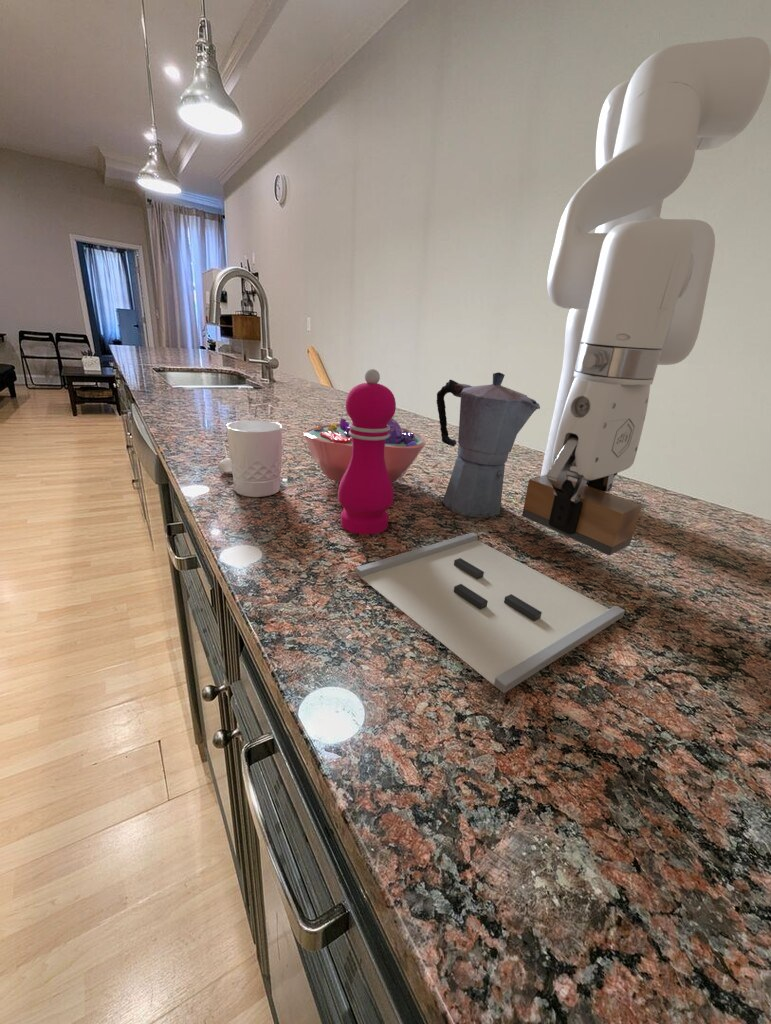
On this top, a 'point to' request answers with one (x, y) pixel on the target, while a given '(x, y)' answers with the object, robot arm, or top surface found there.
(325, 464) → the cell model
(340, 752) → the top surface
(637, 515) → the eraser
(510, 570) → the memo board
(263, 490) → the white cup
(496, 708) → the top surface
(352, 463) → the pepper mill
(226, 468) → the macaroon
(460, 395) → the moka pot
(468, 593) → the stroke
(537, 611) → the stroke
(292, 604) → the top surface
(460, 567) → the stroke
